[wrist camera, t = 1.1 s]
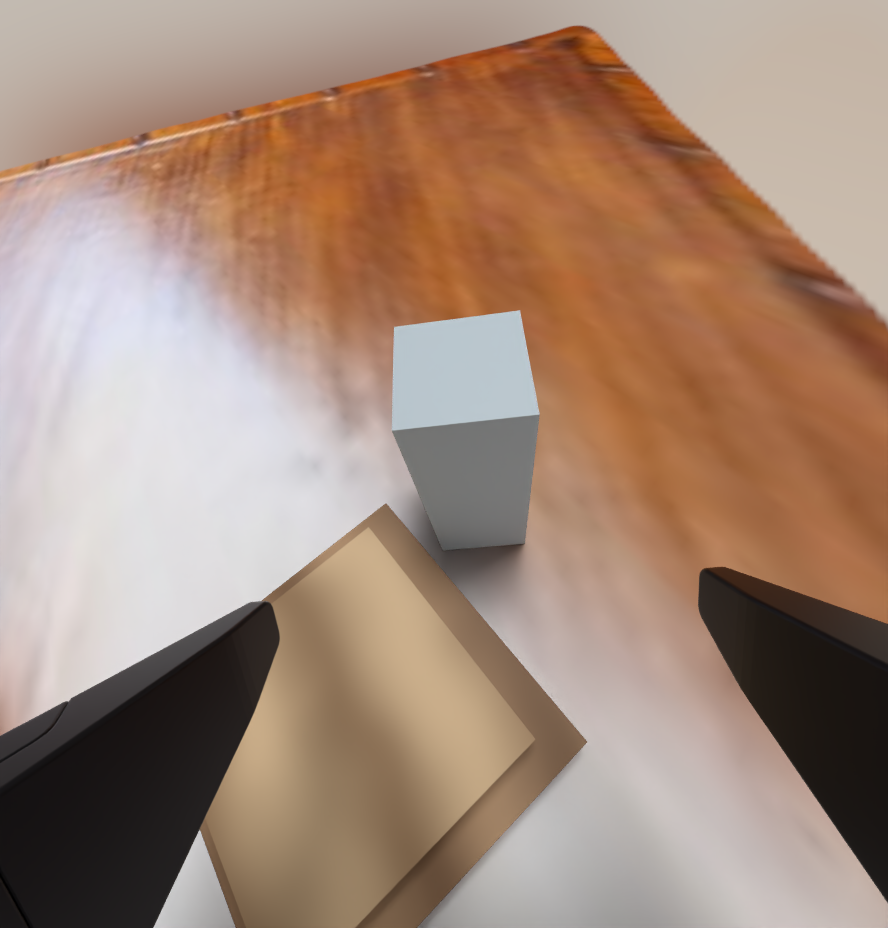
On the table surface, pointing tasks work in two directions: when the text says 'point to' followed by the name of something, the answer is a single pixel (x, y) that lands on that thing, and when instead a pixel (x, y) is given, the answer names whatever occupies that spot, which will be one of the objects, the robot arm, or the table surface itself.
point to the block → (467, 425)
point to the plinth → (377, 745)
